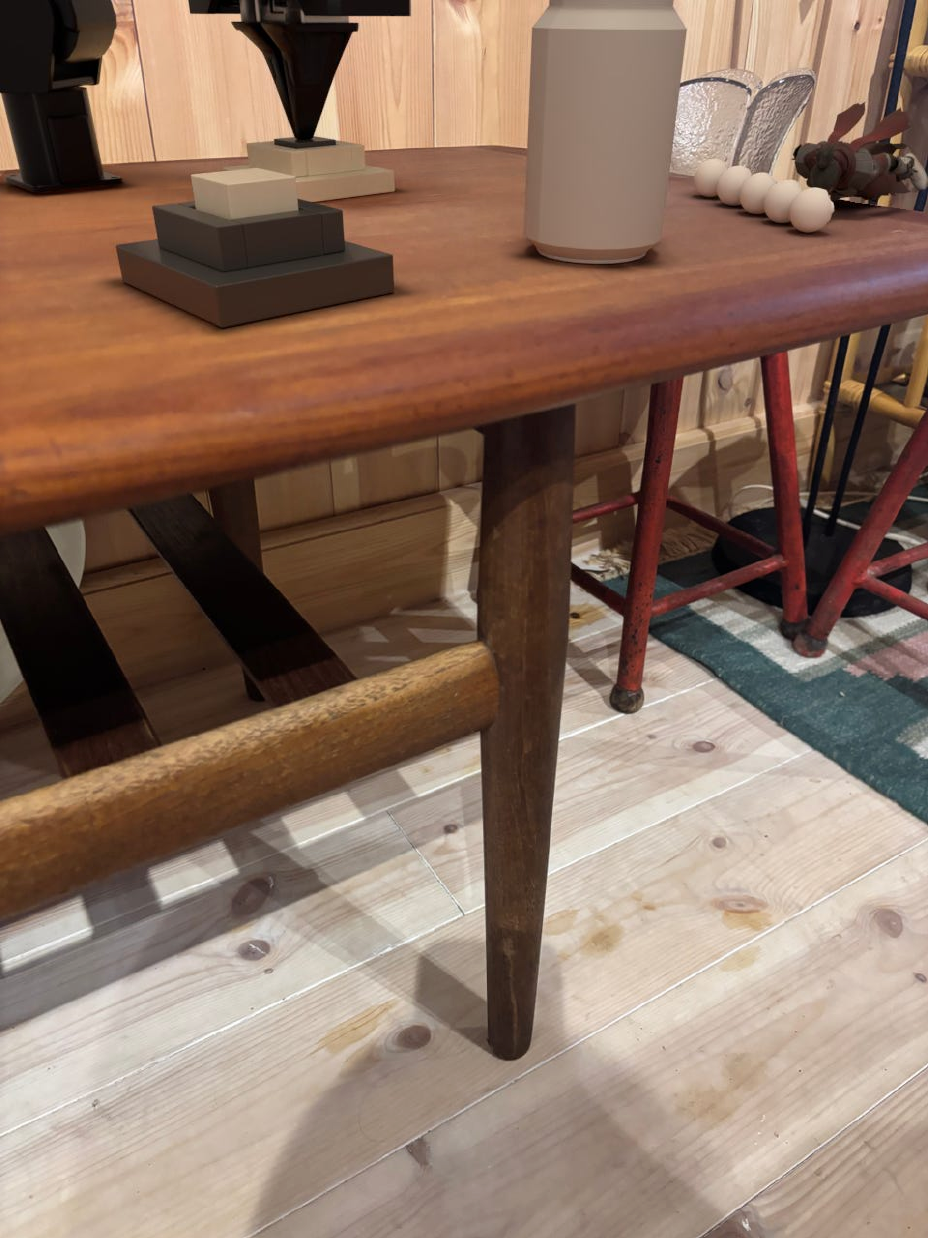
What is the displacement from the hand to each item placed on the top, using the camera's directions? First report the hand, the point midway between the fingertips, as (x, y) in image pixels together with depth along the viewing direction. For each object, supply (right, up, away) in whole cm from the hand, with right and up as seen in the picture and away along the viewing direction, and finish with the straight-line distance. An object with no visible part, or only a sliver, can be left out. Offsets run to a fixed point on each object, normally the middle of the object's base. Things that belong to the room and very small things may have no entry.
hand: (304, 139), depth 64 cm
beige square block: (+2, -16, -23) cm, 28 cm away
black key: (0, -1, +1) cm, 2 cm away
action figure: (+43, +1, +3) cm, 43 cm away
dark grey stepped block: (+2, -18, -21) cm, 28 cm away
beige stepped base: (0, -3, +2) cm, 3 cm away
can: (+18, -14, -14) cm, 27 cm away
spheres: (+31, -5, -6) cm, 32 cm away
